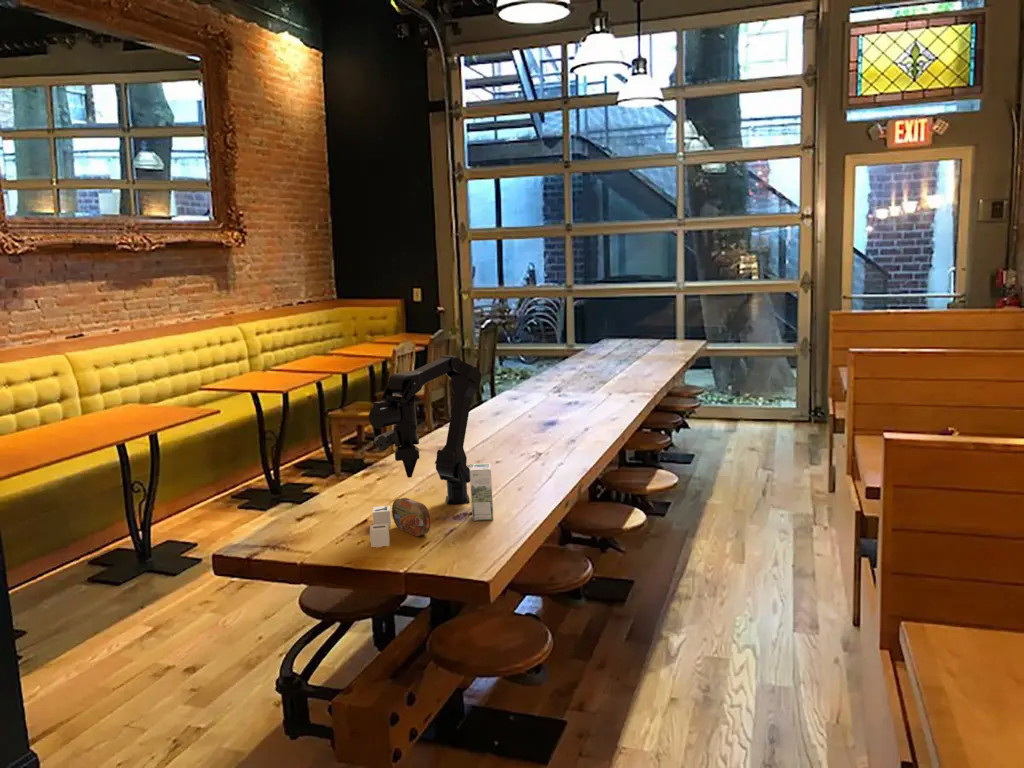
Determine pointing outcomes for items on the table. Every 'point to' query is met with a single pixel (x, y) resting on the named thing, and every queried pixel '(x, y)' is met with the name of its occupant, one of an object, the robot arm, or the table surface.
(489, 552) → the table surface
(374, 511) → the lettered block t
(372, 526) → the lettered block i
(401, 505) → the tin
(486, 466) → the syrup box
